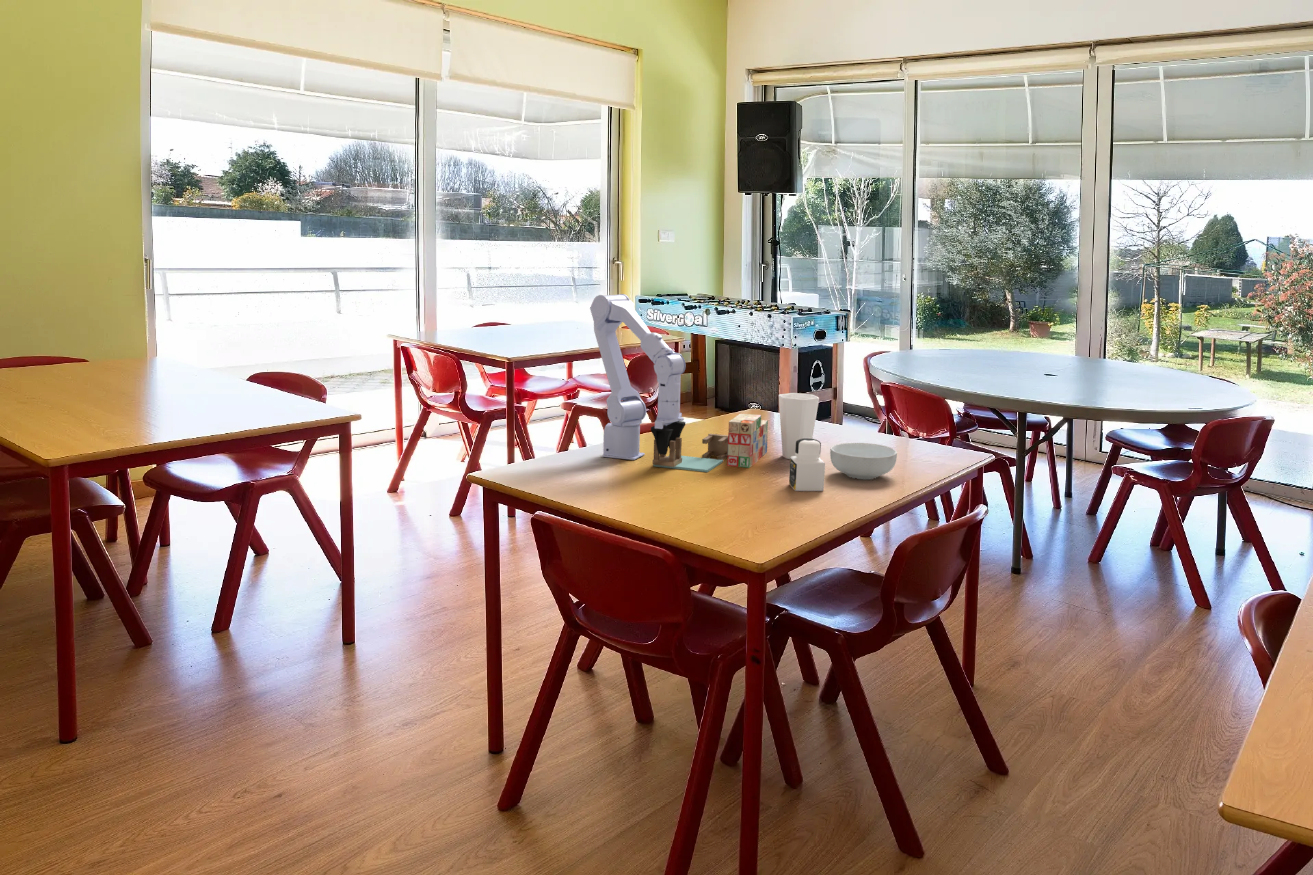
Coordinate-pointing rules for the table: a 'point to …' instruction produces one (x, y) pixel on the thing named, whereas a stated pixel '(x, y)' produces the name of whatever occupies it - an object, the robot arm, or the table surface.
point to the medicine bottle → (807, 466)
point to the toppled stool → (716, 446)
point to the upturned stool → (673, 456)
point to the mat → (695, 464)
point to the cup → (796, 419)
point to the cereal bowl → (863, 459)
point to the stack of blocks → (746, 440)
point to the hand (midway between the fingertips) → (667, 451)
